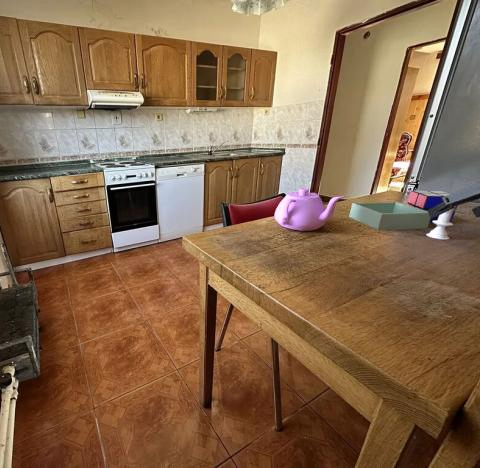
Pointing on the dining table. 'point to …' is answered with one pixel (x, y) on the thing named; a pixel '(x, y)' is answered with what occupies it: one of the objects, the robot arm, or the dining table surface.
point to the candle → (441, 226)
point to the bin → (389, 215)
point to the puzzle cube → (427, 201)
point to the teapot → (304, 211)
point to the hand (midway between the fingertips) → (452, 213)
